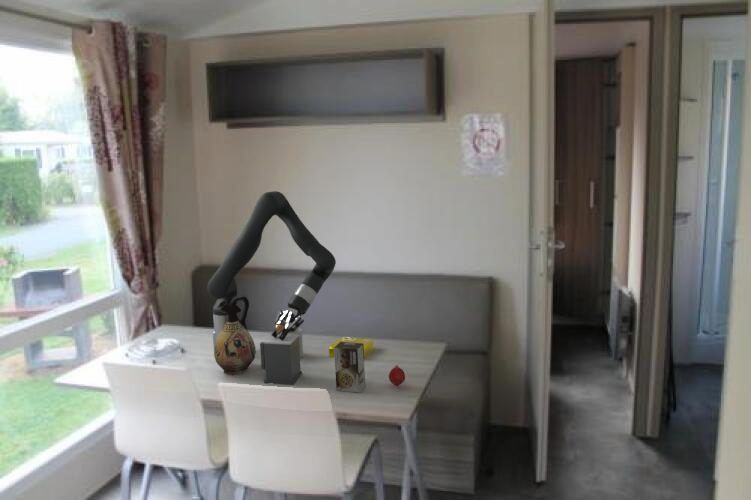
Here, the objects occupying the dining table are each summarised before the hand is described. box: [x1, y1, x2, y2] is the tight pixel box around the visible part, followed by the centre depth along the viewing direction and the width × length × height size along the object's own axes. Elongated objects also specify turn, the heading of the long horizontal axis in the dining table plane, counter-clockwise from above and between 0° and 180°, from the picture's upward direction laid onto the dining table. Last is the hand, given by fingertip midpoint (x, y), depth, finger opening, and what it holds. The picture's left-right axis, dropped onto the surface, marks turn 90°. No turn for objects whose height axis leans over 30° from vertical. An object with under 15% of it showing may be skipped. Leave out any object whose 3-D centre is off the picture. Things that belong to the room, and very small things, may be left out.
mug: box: [288, 326, 304, 359], centre depth 266 cm, size 12×8×11 cm
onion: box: [388, 364, 406, 387], centre depth 232 cm, size 6×6×8 cm
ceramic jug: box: [213, 294, 257, 376], centre depth 249 cm, size 17×15×30 cm
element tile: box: [328, 336, 374, 359], centre depth 269 cm, size 15×15×5 cm
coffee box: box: [334, 342, 366, 394], centre depth 231 cm, size 9×6×16 cm
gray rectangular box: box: [259, 334, 303, 385], centre depth 242 cm, size 14×11×16 cm
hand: (276, 337), depth 239 cm, fingers closed on plunger, 4 cm apart
